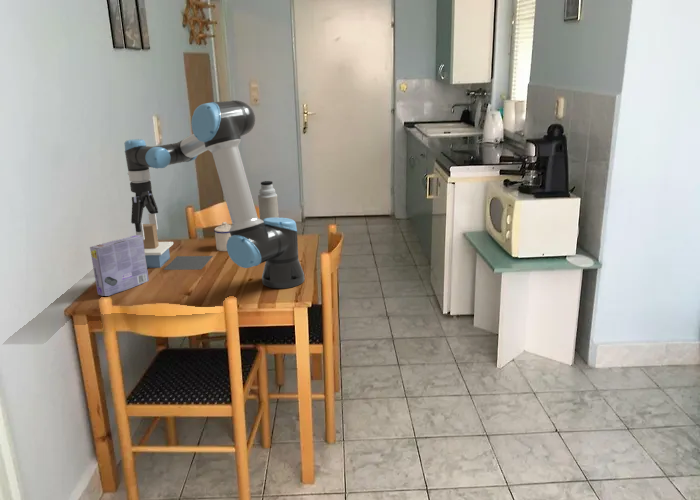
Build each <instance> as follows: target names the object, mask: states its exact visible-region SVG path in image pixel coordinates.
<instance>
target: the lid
mask: <svg viewBox="0 0 700 500" xmlns="http://www.w3.org/2000/svg"><path fill="white" fill-rule="evenodd" d="M143 230H144V237H145V239H144V240H143V243H144V251H145V255H162V254H163V253H164V252H165V251H166V250H167V249H168V248H169V249H170V247H172V246H173V245H174V241H159V238H158V230H156V224H150V223H143Z"/></svg>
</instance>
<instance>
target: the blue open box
mask: <svg viewBox="0 0 700 500" xmlns="http://www.w3.org/2000/svg"><path fill="white" fill-rule="evenodd" d="M145 258H146V265H147V269H155V268H156V269H157V268H158V269H159V268H162V267H163V266H164V265H165V264H166V263H167V262H169V260H170V259H171V255H170V248H168V249H167V250H166V251H165V252H164V253H163V254H162V255H145Z"/></svg>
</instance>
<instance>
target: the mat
mask: <svg viewBox="0 0 700 500" xmlns="http://www.w3.org/2000/svg"><path fill="white" fill-rule="evenodd" d="M213 257H214V256H213V255H201V256H200V255H195V256H194V255H183V256H182V255H177V256H175V258H174V259H173V260H171V261H170V263H168V264H167V265H166V266H165V268H163V270H164V271H166V270H167V271H175V270H177V271H178V270H179V271H180V270H182V271H183V270H184V271H185V270H186V271H187V270H190V271H192V270H203V268H204V267H205V266H206V265H207V264H208V263H209V261H210V260H212V258H213Z"/></svg>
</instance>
